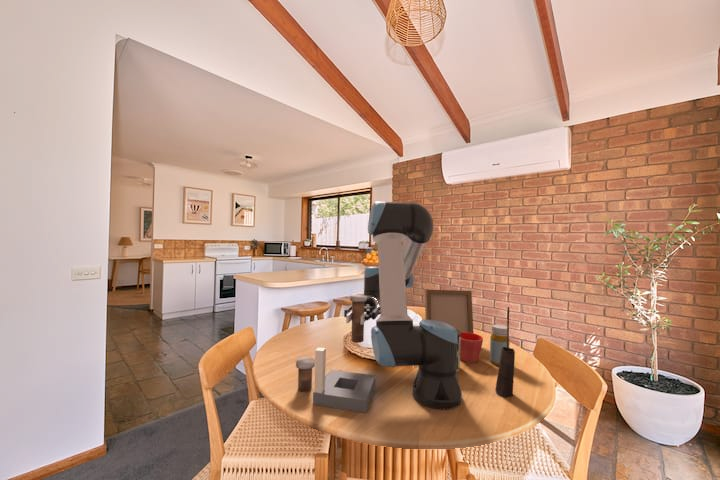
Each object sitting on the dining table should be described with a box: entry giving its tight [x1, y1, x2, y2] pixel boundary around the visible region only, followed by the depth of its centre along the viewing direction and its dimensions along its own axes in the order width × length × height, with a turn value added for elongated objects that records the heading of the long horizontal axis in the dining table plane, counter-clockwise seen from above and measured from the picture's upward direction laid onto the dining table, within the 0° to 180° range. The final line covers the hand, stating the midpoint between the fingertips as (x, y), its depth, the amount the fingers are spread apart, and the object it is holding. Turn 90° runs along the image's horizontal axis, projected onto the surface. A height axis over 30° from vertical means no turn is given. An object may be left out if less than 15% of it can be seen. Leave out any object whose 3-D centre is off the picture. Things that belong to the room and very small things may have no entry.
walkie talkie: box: [495, 306, 516, 398], centre depth 96 cm, size 9×10×28 cm
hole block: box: [312, 347, 377, 414], centre depth 94 cm, size 16×16×16 cm
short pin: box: [295, 356, 315, 393], centre depth 97 cm, size 6×6×9 cm
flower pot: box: [460, 332, 484, 364], centre depth 124 cm, size 11×11×10 cm
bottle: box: [489, 323, 510, 367], centre depth 121 cm, size 7×7×15 cm
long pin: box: [349, 294, 367, 344], centre depth 107 cm, size 6×6×16 cm
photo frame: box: [424, 289, 474, 333], centre depth 147 cm, size 15×22×25 cm
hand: (354, 319), depth 102 cm, fingers closed on long pin, 4 cm apart
